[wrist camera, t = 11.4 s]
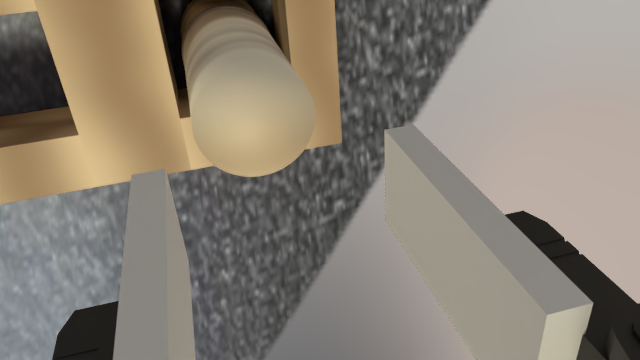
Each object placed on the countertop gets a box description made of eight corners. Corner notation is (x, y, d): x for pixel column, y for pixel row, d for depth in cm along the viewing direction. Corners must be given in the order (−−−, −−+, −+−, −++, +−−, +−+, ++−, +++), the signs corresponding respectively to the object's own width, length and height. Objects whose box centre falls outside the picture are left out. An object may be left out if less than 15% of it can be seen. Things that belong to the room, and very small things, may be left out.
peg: (171, -6, 26) (178, 70, 16) (254, -16, 27) (311, 51, 16) (187, 75, 28) (202, 188, 18) (264, 63, 29) (320, 165, 19)
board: (-54, 176, 27) (-84, 219, 24) (-169, -55, 22) (-229, -42, 18) (322, 113, 31) (341, 142, 28) (307, -99, 25) (329, -95, 22)
